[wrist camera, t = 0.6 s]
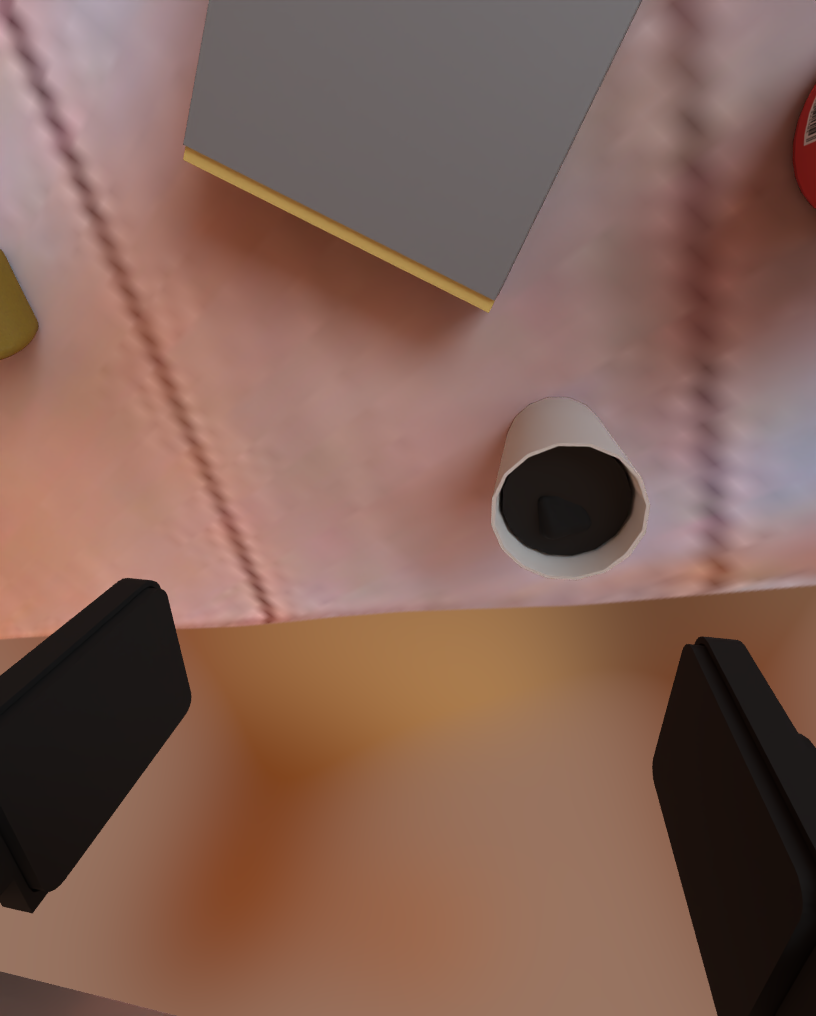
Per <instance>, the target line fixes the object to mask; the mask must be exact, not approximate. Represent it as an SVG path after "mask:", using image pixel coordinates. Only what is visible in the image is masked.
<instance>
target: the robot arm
mask: <svg viewBox="0 0 816 1016" xmlns="http://www.w3.org/2000/svg"><path fill="white" fill-rule="evenodd" d="M190 703H191V691H190V687H189V683H188V678H187V674H186V670H185V666H184V662H183V658H182V654H181V650H180V645H179V642H178V638H177V633H176V629H175V625H174V621H173V617H172V613H171V608H170V604H169V600H168V596H167V594H166V592H165V591H164V590H162V589H161V588H160V585H159V584H158V583H157V582H155V581H152V580H142V579H132V578H125V579H122V580H120V581H118V582H117V583H116V584H114V585H113V586H112V587H111V588H109V589H108V590H107V591H106V592H104V593H103V594H102V595H101V596H99V597H98V598H97V599H96V600H94V601H93V602H92V603H91V604H89V605H88V606H87V607H86V608H84V609H83V610H82V611H81V612H79V613H78V614H77V615H76V616H74V617H73V618H72V619H71V620H69V621H68V622H67V623H66V624H64V625H63V626H62V627H61V628H59V629H58V630H57V631H56V632H54V633H53V634H52V635H51V636H49V637H48V638H47V639H46V640H44V641H43V642H42V643H41V644H39V645H38V646H37V647H36V648H35V649H33V650H32V651H31V652H29V653H28V654H27V655H26V656H24V657H23V658H22V659H21V660H19V661H18V662H17V663H16V664H14V665H13V666H12V667H11V668H9V669H8V670H7V671H6V672H4V673H3V674H2V675H1V676H0V903H1V905H2V906H3V907H7V908H11V909H16V910H21V911H25V912H29V913H33V912H34V911H35V909H36V908H37V907H38V905H39V904H40V902H41V901H42V900H43V899H44V897H45V896H46V894H47V893H48V892H50V891H53V890H55V889H56V888H57V887H58V886H60V885H61V884H62V882H63V881H64V880H65V879H66V877H67V876H68V874H69V873H70V872H71V871H72V869H73V868H74V867H75V865H76V864H77V862H78V861H79V860H80V858H81V857H82V856H83V854H84V853H85V851H86V850H87V849H88V847H89V846H90V845H91V843H92V842H93V841H94V839H95V838H96V836H97V835H98V834H99V832H100V831H101V829H102V828H103V827H104V825H105V824H106V823H107V821H108V820H109V819H110V817H111V816H112V814H113V813H114V812H115V810H116V809H117V808H118V806H119V805H120V804H121V802H122V801H123V799H124V798H125V797H126V795H127V794H128V793H129V791H130V790H131V789H132V787H133V786H134V784H135V783H136V782H137V780H138V779H139V778H140V776H141V775H142V773H143V772H144V771H145V769H146V768H147V767H148V765H149V764H150V763H151V761H152V760H153V758H154V757H155V756H156V754H157V753H158V752H159V750H160V749H161V747H162V746H163V745H164V743H165V742H166V741H167V739H168V738H169V737H170V735H171V734H172V732H173V731H174V730H175V728H176V727H177V726H178V724H179V723H180V721H181V720H182V719H183V717H184V716H185V714H186V713H187V711H188V709H189V707H190ZM652 769H653V780H654V784H655V788H656V791H657V795H658V799H659V803H660V806H661V810H662V813H663V817H664V821H665V824H666V828H667V832H668V836H669V839H670V843H671V846H672V850H673V854H674V858H675V861H676V865H677V869H678V872H679V876H680V880H681V883H682V887H683V890H684V894H685V898H686V901H687V905H688V908H689V912H690V916H691V919H692V924H693V927H694V930H695V934H696V938H697V942H698V945H699V949H700V953H701V956H702V960H703V964H704V967H705V971H706V975H707V978H708V982H709V985H710V989H711V993H712V996H713V1000H714V1004H715V1007H716V1011H717V1015H718V1016H816V748H815V746H814V745H813V744H812V743H811V741H810V740H809V739H808V738H806V737H805V736H803V735H802V734H798V732H797V731H796V729H795V727H794V726H793V724H792V722H791V721H790V719H789V718H788V716H787V714H786V712H785V711H784V709H783V707H782V706H781V704H780V703H779V701H778V700H777V698H776V696H775V694H774V693H773V691H772V689H771V688H770V686H769V685H768V683H767V681H766V680H765V678H764V676H763V675H762V673H761V671H760V670H759V668H758V667H757V665H756V663H755V662H754V660H753V658H752V657H751V655H750V653H749V652H748V650H747V649H746V647H745V646H744V644H743V643H742V642H741V641H738V640H731V639H721V638H712V637H699V638H698V639H697V640H696V642H695V644H694V645H691V644H686V645H685V646H684V648H683V650H682V654H681V658H680V661H679V665H678V669H677V672H676V676H675V680H674V683H673V687H672V691H671V695H670V698H669V702H668V706H667V709H666V713H665V717H664V721H663V724H662V728H661V732H660V735H659V739H658V743H657V747H656V750H655V754H654V757H653V766H652ZM0 1016H176V1015H171V1014H168V1013H164V1012H159V1011H156V1010H152V1009H148V1008H144V1007H140V1006H136V1005H132V1004H128V1003H124V1002H121V1001H117V1000H112V999H109V998H105V997H101V996H96V995H93V994H88V993H84V992H81V991H76V990H73V989H68V988H64V987H60V986H56V985H52V984H48V983H44V982H40V981H36V980H32V979H28V978H24V977H20V976H16V975H12V974H8V973H4V972H0Z"/></svg>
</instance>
